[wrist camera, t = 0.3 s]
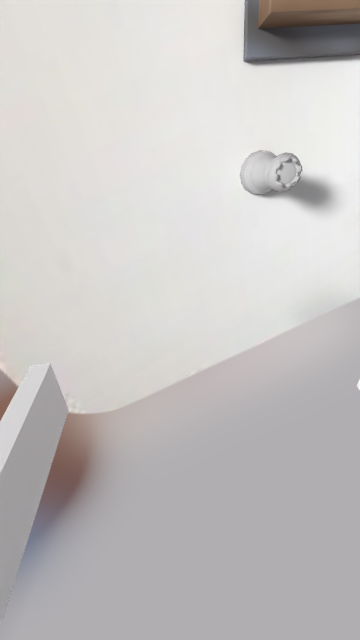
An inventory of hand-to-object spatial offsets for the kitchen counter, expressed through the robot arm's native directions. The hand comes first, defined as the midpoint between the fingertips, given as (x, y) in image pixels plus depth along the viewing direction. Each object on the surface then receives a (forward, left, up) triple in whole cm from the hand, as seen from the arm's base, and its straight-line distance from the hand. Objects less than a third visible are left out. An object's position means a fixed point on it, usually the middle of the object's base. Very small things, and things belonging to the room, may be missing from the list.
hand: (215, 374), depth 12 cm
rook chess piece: (-7, +11, -27) cm, 30 cm away
